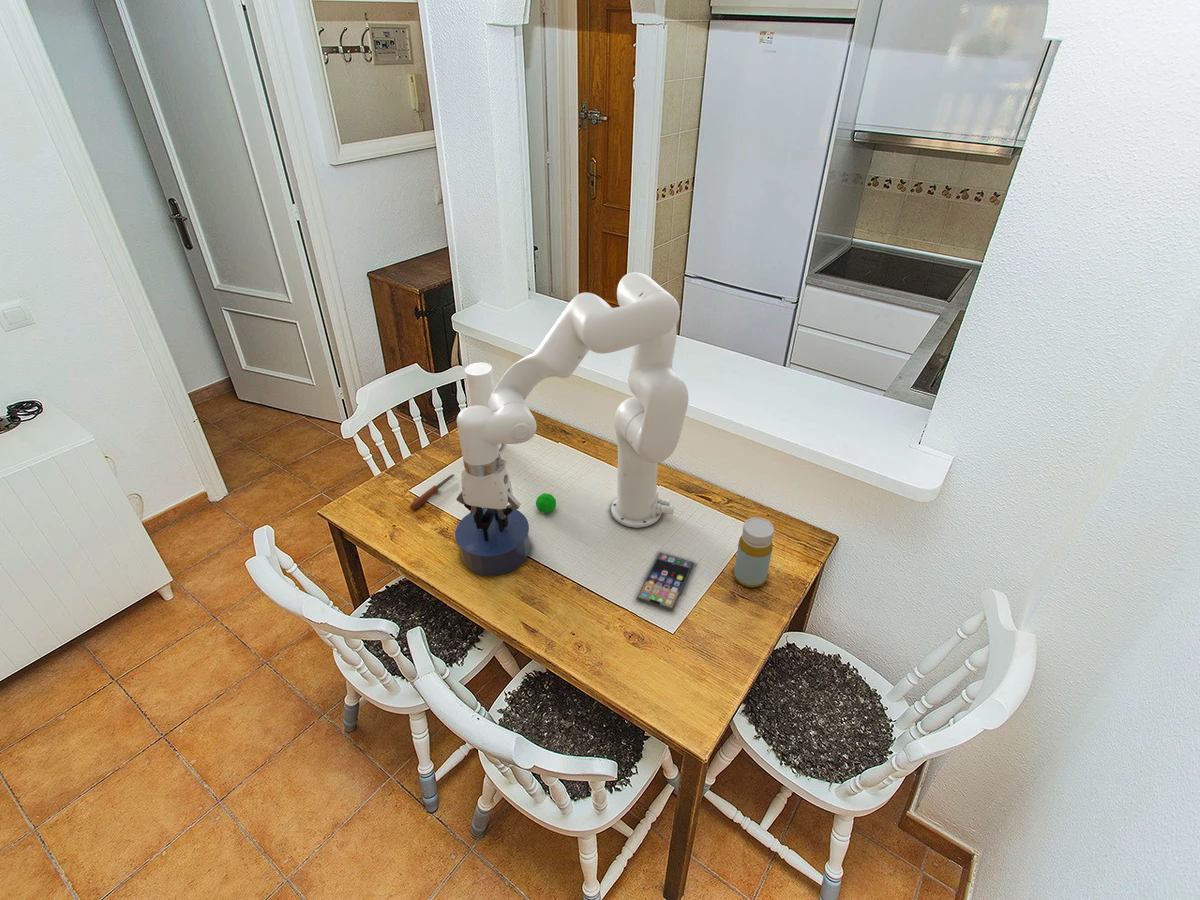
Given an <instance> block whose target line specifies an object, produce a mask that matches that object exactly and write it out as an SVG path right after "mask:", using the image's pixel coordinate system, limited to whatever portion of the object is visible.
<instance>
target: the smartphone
mask: <svg viewBox="0 0 1200 900" xmlns="http://www.w3.org/2000/svg"><path fill="white" fill-rule="evenodd" d="M694 563H695V562H693V561H690V560H686V559H684V558H680V557H676V556H674V555H670V554H667V553H663V552H659V553H658V555H657V557H656V559H655V561H654V563H653V565H652V567H651V569H650V571H649V573H648V574H647V576H646V579H645V580H644V582H643V584H642V586H641V588H640V590H639V592H638V593H637V596H636V598H635V599H636V601H639V602H642V603H646V604H648V605H652V606H654V607H657V608H661V609H664V610H666V611H669V612H673V611H674V609H675V607H676V604H677V602H678V600H679V597H680V595H681V593H682V591H683V588H684V586H685V585H686V583H687V582H686V581H687V580H688V578H689V576H690V573H691V571H692V569H693V567H694Z"/></svg>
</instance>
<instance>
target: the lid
mask: <svg viewBox="0 0 1200 900" xmlns="http://www.w3.org/2000/svg"><path fill="white" fill-rule="evenodd" d="M482 509H483V514H484V516H483V518H482V520H481V522H480V529H477V527H476V523H475V522H474V517H473V515H472V514H471V513H470V512H468V513H467V514H466V515H465V516H464V517H462V518H461V520H460V521H459V522H458V524H457V525H456V528H455V531H454V539H455V542H456V544H457V546H458V548H459V547H460V548H461V549H462V550H463V551H464V552H466V553H468V554H470V555H473V556H477V557H497V556H501V555H504V554H507V553H509V552H511V551H513V550H515V549H516V548H518V547H519V546H520V545H521V544H522V543H523V542H524V541H525V539H526V537H527V535H528V536H529V531H530V526H529V525H530V524H529V521H528V518H527V517H526V516H525V515H524V513H522V512H521V511H519V509H517V510H515V511H512V512H511V513H510V514H509V515H508V516H507V517H508V526H507V527H505V529H504V531H503V532H500V531H499V525H498V518H499V514H498V512H497V510H496V509H492V508H484V507H482ZM460 548H459V549H460Z"/></svg>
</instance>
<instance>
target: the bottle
mask: <svg viewBox="0 0 1200 900" xmlns="http://www.w3.org/2000/svg"><path fill="white" fill-rule="evenodd" d="M774 533H775V528H774V525H773V523H772V522H770V520H768V519H765V518H763V517H757V516H756V517H755V516H754V517H750V518H747V520H745V521H744V523H743V527H742V532H741V536H740V537H739V540H738V544H737V549H736V557H735V562H734V563H735V564H734V569H733V576H734V579H735V580H736V581H737V582H738V583H739V584H740V585H742V586H744V587H746V588H757V587H761V586H762V585H764V584H765V582H766V580H767V577H768V571H769V567H770V563H771V558H772V553H773V548H774V547H773V546H774V544H773V537H774Z"/></svg>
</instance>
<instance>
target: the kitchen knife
mask: <svg viewBox="0 0 1200 900" xmlns="http://www.w3.org/2000/svg"><path fill="white" fill-rule="evenodd" d="M453 477H455V474H452V473H451V474H450V475H448V476H447V477H446V478H444V479H443V480H442V481H440V483H438V484H436V485H433V486H432V487H430V488H428V490H426V491H425V492H424V493H423V494H422V495H420V496H418V498H416V499H415V500H414V501H413V502H411V504H409V505H410V506H409V508H410V509H411V510H413V511H415V510H417V509H419V508H420V507H421V506H423V505H424V504H425V503H426V502H427V501H428V500H429V499H430V498H431V497H433V496H435V494H437V493H438V492H439V489H441V488H442V487H443V486H444V485H445V484H446V483H448V482H449V481H450V480H451V479H453Z"/></svg>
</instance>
